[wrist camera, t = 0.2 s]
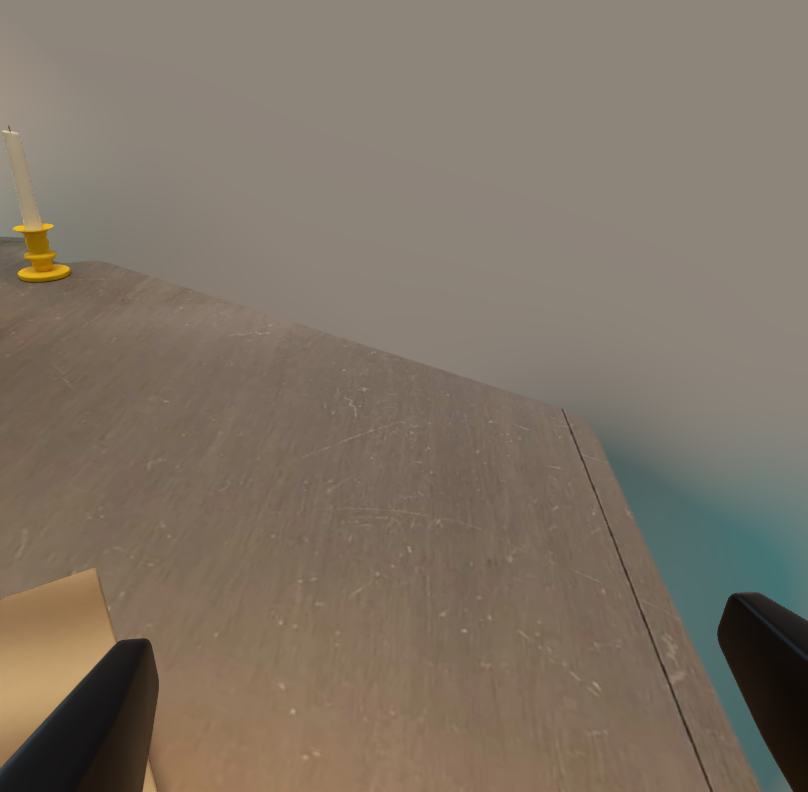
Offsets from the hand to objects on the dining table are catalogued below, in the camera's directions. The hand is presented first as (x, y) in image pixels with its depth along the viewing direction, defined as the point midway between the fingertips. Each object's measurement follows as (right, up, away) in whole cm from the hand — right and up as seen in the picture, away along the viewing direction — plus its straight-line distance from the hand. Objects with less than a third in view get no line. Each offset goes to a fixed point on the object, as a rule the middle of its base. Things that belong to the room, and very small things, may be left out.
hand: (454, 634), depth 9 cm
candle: (-41, +17, +60) cm, 75 cm away
